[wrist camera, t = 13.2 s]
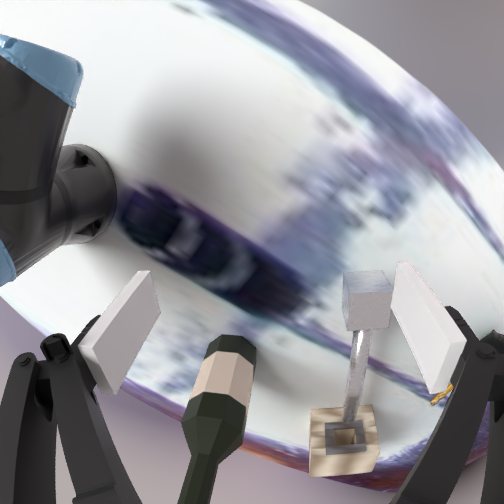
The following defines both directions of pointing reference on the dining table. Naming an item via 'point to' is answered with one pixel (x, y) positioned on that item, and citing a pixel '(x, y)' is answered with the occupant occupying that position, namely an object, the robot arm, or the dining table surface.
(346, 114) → the dining table surface
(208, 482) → the wine bottle
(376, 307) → the pull pin
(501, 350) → the fried shrimp in bowl
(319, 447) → the eye block
